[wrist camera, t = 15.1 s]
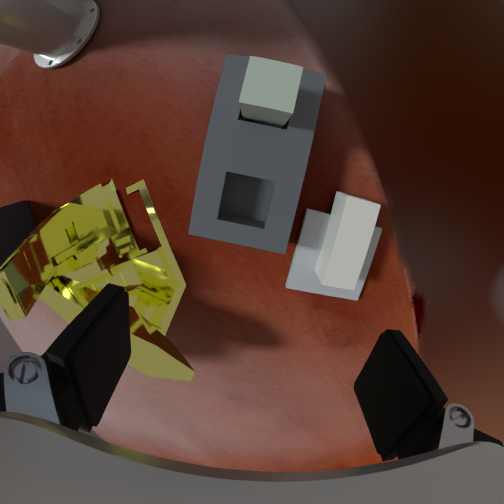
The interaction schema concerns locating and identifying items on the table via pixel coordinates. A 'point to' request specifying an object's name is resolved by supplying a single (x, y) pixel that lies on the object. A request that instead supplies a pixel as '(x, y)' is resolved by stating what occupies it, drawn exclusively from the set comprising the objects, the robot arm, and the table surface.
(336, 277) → the white plug
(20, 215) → the black block
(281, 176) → the plate
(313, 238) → the mat
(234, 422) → the table surface
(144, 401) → the table surface
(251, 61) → the sage plug
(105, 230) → the crystal
